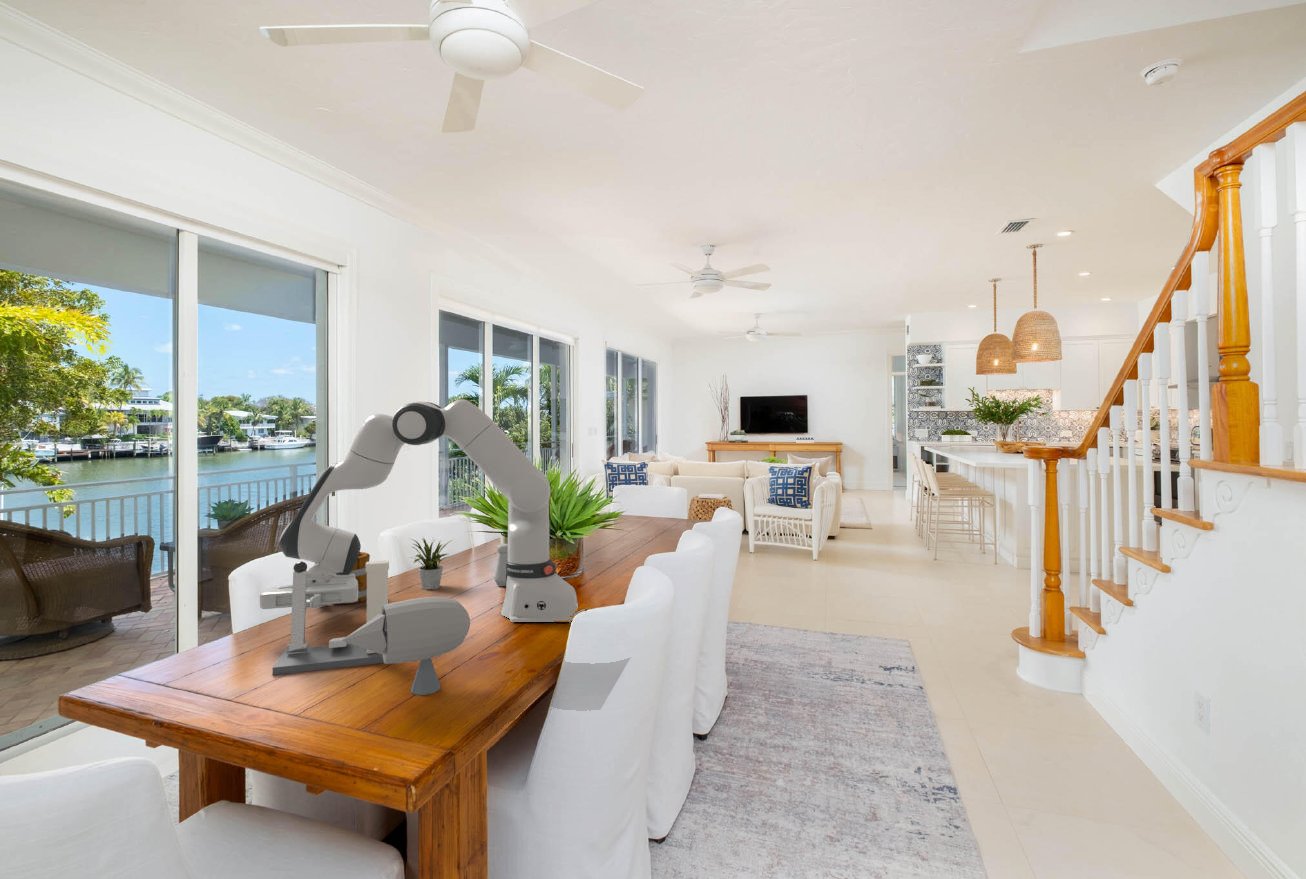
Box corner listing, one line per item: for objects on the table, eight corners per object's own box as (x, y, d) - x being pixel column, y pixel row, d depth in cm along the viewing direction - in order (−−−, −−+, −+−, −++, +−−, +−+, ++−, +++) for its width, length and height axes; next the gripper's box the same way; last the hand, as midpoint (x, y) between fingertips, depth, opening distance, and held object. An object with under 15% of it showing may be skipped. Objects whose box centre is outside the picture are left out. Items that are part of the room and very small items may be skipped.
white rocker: (332, 644, 133) (332, 638, 133) (349, 643, 134) (349, 636, 134) (328, 648, 128) (328, 641, 128) (346, 646, 129) (346, 639, 129)
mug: (379, 598, 174) (379, 547, 174) (319, 611, 161) (319, 556, 161) (361, 591, 181) (361, 542, 180) (302, 604, 168) (302, 550, 167)
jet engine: (376, 673, 122) (377, 588, 121) (475, 674, 122) (476, 589, 122) (339, 707, 107) (339, 610, 107) (451, 709, 107) (452, 611, 107)
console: (284, 656, 130) (284, 649, 130) (395, 645, 137) (395, 639, 137) (272, 674, 121) (272, 667, 121) (391, 661, 128) (391, 654, 128)
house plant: (391, 592, 180) (391, 538, 180) (417, 580, 194) (417, 530, 194) (435, 595, 178) (435, 540, 178) (458, 583, 192) (458, 532, 191)
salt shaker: (508, 588, 187) (508, 546, 186) (490, 587, 188) (491, 545, 187) (515, 583, 192) (516, 543, 192) (499, 582, 193) (499, 542, 193)
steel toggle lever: (289, 651, 129) (292, 561, 131) (308, 650, 130) (311, 560, 132) (286, 654, 126) (289, 562, 129) (305, 652, 127) (308, 561, 130)
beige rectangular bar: (366, 650, 129) (366, 561, 129) (388, 648, 131) (389, 560, 131) (365, 654, 127) (365, 564, 127) (387, 651, 129) (388, 562, 128)
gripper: (267, 578, 144) (250, 594, 131) (361, 572, 151) (354, 586, 138) (267, 604, 144) (250, 622, 131) (361, 597, 151) (354, 613, 138)
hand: (304, 604), depth 135 cm, fingers closed
